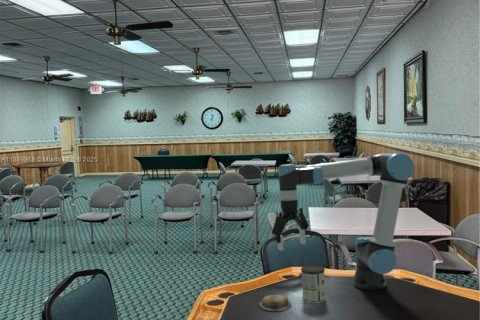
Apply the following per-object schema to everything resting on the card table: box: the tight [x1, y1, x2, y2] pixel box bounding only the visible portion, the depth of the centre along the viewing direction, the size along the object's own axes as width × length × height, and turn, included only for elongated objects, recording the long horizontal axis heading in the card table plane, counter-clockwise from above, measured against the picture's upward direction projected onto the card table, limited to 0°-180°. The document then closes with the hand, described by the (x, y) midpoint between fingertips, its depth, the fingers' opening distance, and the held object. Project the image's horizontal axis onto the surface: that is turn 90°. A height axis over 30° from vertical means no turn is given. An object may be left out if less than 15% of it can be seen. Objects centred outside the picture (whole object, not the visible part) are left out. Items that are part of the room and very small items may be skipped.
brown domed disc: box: [258, 294, 292, 312], centre depth 191 cm, size 14×14×3 cm
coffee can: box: [301, 264, 327, 304], centre depth 195 cm, size 10×10×14 cm
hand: (292, 246), depth 194 cm, fingers open, 13 cm apart
